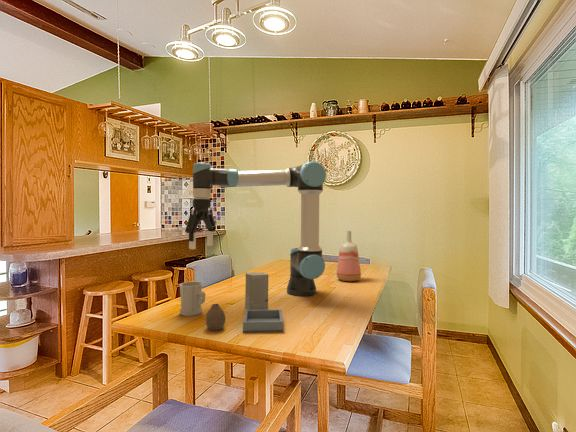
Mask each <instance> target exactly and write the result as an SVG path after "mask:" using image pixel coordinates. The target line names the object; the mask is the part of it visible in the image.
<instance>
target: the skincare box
mask: <svg viewBox="0 0 576 432" xmlns="http://www.w3.org/2000/svg"><path fill="white" fill-rule="evenodd" d="M244 303H245V304H244V306H245V307H244V311H246V310H269V273H265V272H246V273H245V298H244Z"/></svg>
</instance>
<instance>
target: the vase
mask: <svg viewBox="0 0 576 432" xmlns="http://www.w3.org/2000/svg"><path fill="white" fill-rule="evenodd" d="M225 323H226V313H225V311H224V310H223V309H222V307H221V305H220V304H219V303H212V304H211V307H210V308H209V310H208V311H207V312H206V315H205V325H206V327H207V328H208V330H209V331H213V332H217V331H220V330H222V329H223V327H224V326H225Z"/></svg>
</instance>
